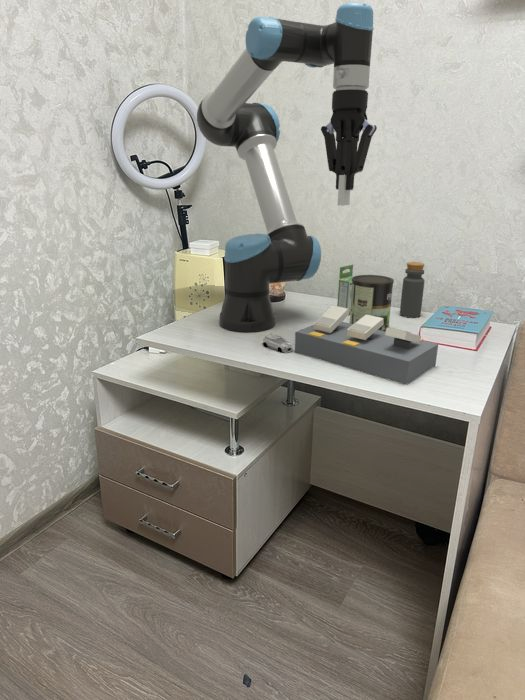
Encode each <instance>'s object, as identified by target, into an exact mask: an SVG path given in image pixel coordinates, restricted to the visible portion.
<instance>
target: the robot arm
mask: <svg viewBox="0 0 525 700" xmlns="http://www.w3.org/2000/svg"><path fill="white" fill-rule="evenodd" d="M373 32H374V9H373V7H372V6H371V5H370V4H367V3H362V2H349V3H345V4H342V5H340V6H339V7H338V9H337V10H336V16H335V22H333V23H329V24H327V25H323V24H322V25H320V24H314V23H307V22H300V21H294V20H293V21H292V20H287V19H281V18H275V17H272V16H269V17H268V16H267V17H266V16H256V17H254V18H252V19H251V20H250V22H249V23H248V26H247V30H246V32H245V47H246V48H245V49H244V51H243V52H242V53H241V55H240V56H239V57H238V58H237V60H236V61H235V63H234V64H233V65H232V67H231V68H230V69H229V70H228V72H227V73H226V74H225V76H224V77H223V79H222V80H221V81H220V83H219V84H218V85H217V87H216V88H215V90H213V91H211V92H208V93H207V94H206V95H205V96H204V97H202V98H203V99H202V100H201V101H200V103H199V105H198V107H197V111H196V121H197V122H196V123H197V126H198V129H199V131H200V133H201V135H202V136H203V137H204V138H205V139H206V140H207V141H208V142H210V143H211V144H214V145H216V146H220V147H234V148H235V149H236V150H235V151H236V152H237V156H238V157H239V158H240V159H242V160H243V161H245V165H246V167H247V170H248V174H249V176H250V177H249V178H250V181H251V182H252V187H253V189H254V193H255V196H256V200H257V203H258V206H259V209H260V214H261V215H262V219H263V222H264V225H265V229H266V231H267V233H254V234H253V233H249V234H242V235H238V236H235V237H232V238H230V239H229V240H228V241H226V243H225V246H224V247H225V248H224V257H223V259H224V260H223V261H224V277H225V278H224V280H225V281H224V283H225V286H224V287H225V290H224V291H225V295H224V299H223V303H222V307H221V312H220V313H219V316H218V317H219V319H218V321H219V326H220V327H221V328H223V329H225V330H229V331H234V332H241V333H242V332H243V333H246V332H247V333H249V332H250V333H251V332H252V333H253V332H255V333H256V332H260V331H261V332H262V331H266V330H270V329H272V328H273V327H275V325H276V314H275V312H274V309H273V304H272V301H271V297H270V284H279V283H286V282H287V283H288V282H295V281H297V282H300V281H302V280H307V279H311V278H312V277H313V276H315V275H316V273H317V272H318V270H319V268H320V263H321V259H322V248H321V245H320V242H319V240H318V239H317V238H316V237H315V236H312V235H308V234H307V231H306V228H305V226H304V225H303V224H301V223H299V222H298V221H297V218H296V215H295V212H294V209H293V205H292V203H291V200H290V196H289V194H288V190H287V187H286V184H285V181H284V178H283V175H282V171H281V168H280V166H279V162H278V159H277V156H276V155H277V154H276V153H275V149H276V147H277V144H278V142H279V138H280V135H281V134H280V132H281V130H280V127H281V124H280V120H279V116H278V113H276V111H275V109H274V108H273V107H272V106H270V105H268V104H265V103H260V102H253V103H250V102H248V100H250V98H251V97H252V96H253V95H254V94H255V92H256V91H257V90H259V88H260V87H261V86H262V84H263V83H265V81H266V80H267V79H268V78H269V77H270V75H271V74H272V73H273V72H274V71H275V70H276V68H277V67H279V65H280V64H281V63H283V62H285V63H286V62H289V63H298V64H304V65H305V66H307V67H309V68H320V69H321V68H324V67H326V66H330V65H333V79H332V80H333V81H332V88H333V89H334V90H335V91H333V92H332V98H331V110H332V114H331V117H330V121H329V123H327V124H326V125H323V126H321V128H320V131H321V134H322V135H323V138H324V144H325V151H326V158H327V166H328V171H329V172H333V173H334V174H335V176H336V178H335V189H336V190H337V206H341V207H342V206H349V205H350V202H351V197H350V196H351V191H353V190H354V187H355V186H354V185H355V175H356V174H357V173H362V172H363V170H364V167H365V162H366V160H367V155H368V152H369V149H370V145H371V142H372V138H373V136H374V134H375V132H376V131H377V130H378V129H377V127H378V126H377V125H374V124H372V123H371V122H369V120H368V115H367V109H368V102H369V101H368V100H369V93H368V91H367V89H368V88H369V87H370V72H371V70H370V69H371V60H372V59H371V58H372V44H373V34H374V33H373ZM361 132H362V133H361ZM360 134H361V135H360Z"/></svg>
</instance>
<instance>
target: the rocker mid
mask: <svg viewBox="0 0 525 700" xmlns="http://www.w3.org/2000/svg"><path fill="white" fill-rule="evenodd" d="M383 325H384V318H380V317H376V316H371V315H365V316H364V317H362V318H361V319H360V320H358V321H357V322H356V323H355V324H353V325H352V326H351V327H349V328H348V329H347V335H348V336H351V337H355V338H359V339H363V340H366V339H367V338H368V337H369V336H371V335H372V334H373V333H374V332H375V331H377V330H378V329H379V328H380V327H381V326H383Z"/></svg>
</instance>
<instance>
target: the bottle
mask: <svg viewBox="0 0 525 700" xmlns="http://www.w3.org/2000/svg"><path fill="white" fill-rule="evenodd" d="M406 267H407V268H406V269H405V271H404V273H406V276H405V277H403V279H402V287H401V298H400V306H399V315H400V316H401V317H404V318H408V319H409V318H411V319H412V318H413V319H414V318H419V317H421V313H422V305H423V297H424V289H425V281H426V280H425V279H424V277H422V276H423V275H424V274H425V270H424V267H425V263H423V262H417V261H409V262H407V263H406Z"/></svg>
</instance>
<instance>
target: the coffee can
mask: <svg viewBox="0 0 525 700" xmlns="http://www.w3.org/2000/svg"><path fill="white" fill-rule="evenodd" d="M394 282H395V281H394V278H392V277H389V276H385V275H379V274H359V275H355V276H354V277H353V278H352V295H351V311H350V314H349V315H350V316H349V323H350V324H355V323H356V322H357V321H358V320H360V319H361V318H362V317H364V316H365V315H371V316H376V317H380V318H384V325H383V326H381V327H380V328H379V329H378V330H380V331H385V332H386V329H387V328H389V327H390V317H391V308H392V299H393V298H392V297H393V287H394V286H393V285H394Z"/></svg>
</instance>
